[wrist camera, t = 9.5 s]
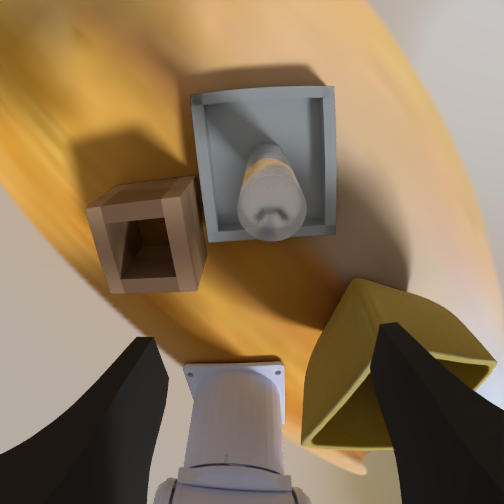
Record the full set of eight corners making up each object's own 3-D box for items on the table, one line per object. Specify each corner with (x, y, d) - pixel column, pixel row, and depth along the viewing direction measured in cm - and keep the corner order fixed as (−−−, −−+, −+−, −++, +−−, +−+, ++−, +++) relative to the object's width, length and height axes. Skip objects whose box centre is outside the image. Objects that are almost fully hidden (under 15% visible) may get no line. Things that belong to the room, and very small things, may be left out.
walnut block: (207, 254, 20) (196, 291, 16) (133, 259, 20) (110, 293, 16) (195, 175, 17) (180, 196, 14) (115, 185, 18) (85, 208, 14)
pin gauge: (287, 178, 17) (306, 239, 9) (249, 180, 17) (239, 242, 10) (285, 141, 16) (306, 174, 9) (247, 143, 16) (234, 177, 9)
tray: (329, 224, 19) (335, 234, 17) (211, 231, 19) (208, 242, 18) (327, 86, 15) (334, 86, 14) (195, 95, 15) (189, 94, 14)
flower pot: (287, 343, 23) (297, 449, 15) (338, 242, 19) (385, 345, 11) (382, 361, 24) (413, 449, 16) (438, 277, 20) (501, 362, 12)
